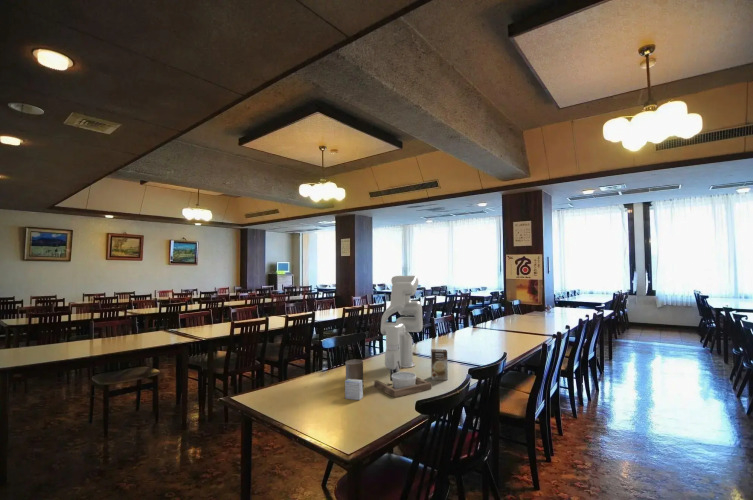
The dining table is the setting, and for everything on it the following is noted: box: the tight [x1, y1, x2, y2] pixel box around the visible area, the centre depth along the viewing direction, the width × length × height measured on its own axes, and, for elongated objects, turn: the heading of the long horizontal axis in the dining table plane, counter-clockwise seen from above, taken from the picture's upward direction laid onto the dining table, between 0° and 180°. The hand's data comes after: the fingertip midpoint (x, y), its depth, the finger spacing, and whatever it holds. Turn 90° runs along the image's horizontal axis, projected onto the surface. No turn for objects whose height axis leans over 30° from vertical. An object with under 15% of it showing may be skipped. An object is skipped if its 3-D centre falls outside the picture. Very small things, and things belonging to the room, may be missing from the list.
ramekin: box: [391, 371, 417, 389], centre depth 191 cm, size 13×13×7 cm
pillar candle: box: [344, 358, 365, 388], centre depth 194 cm, size 10×10×15 cm
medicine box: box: [344, 379, 364, 401], centre depth 177 cm, size 8×4×9 cm, turn 71°
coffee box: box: [430, 348, 449, 381], centre depth 207 cm, size 9×6×16 cm
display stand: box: [373, 376, 432, 398], centre depth 192 cm, size 20×23×3 cm
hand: (393, 380), depth 199 cm, fingers closed
